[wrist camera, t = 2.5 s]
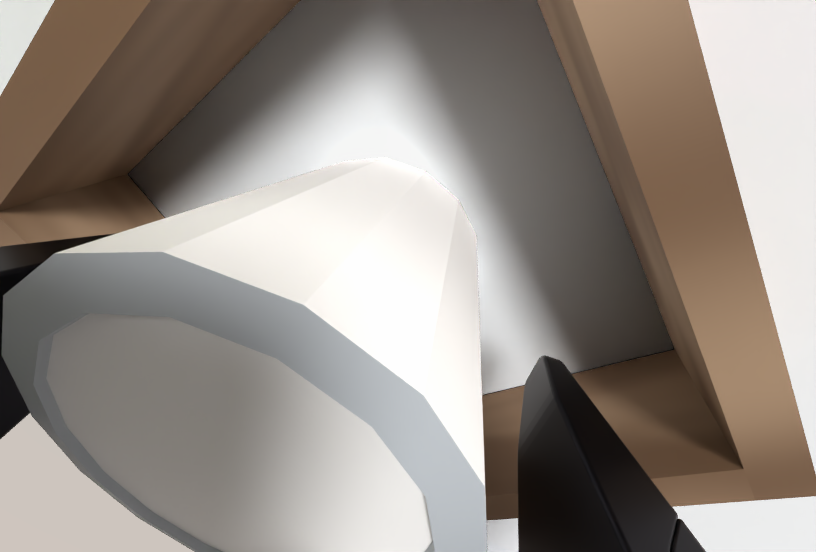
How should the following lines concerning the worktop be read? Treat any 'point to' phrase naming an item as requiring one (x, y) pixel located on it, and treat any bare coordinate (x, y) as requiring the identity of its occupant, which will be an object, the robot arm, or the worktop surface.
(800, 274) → the worktop surface
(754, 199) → the worktop surface
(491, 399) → the walnut bin
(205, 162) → the worktop surface
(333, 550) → the white tapered cup
